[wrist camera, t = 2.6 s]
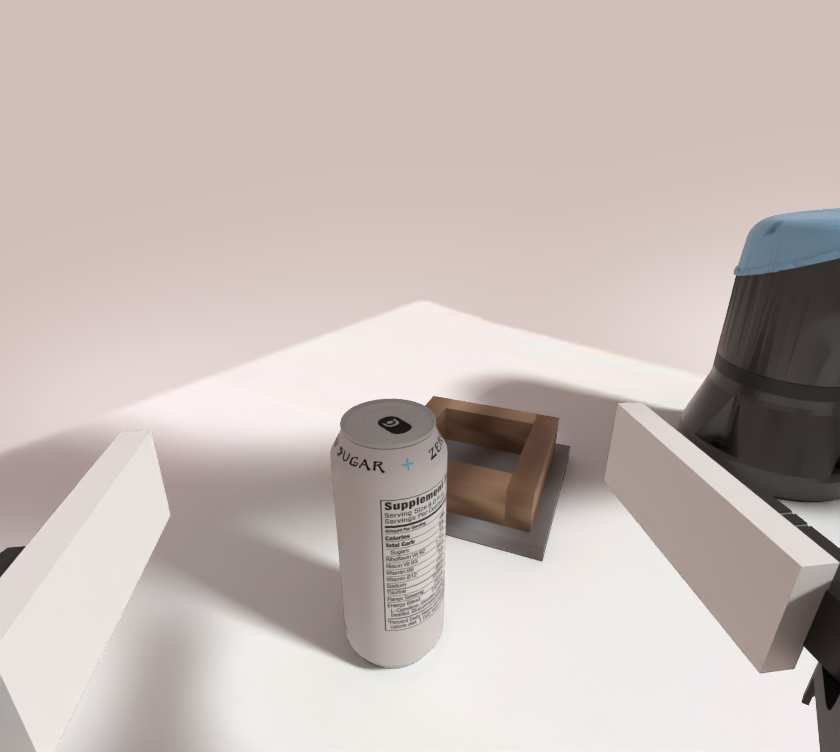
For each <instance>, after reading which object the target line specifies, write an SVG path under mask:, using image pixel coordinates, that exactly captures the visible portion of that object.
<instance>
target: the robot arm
mask: <svg viewBox="0 0 840 752" xmlns="http://www.w3.org/2000/svg"><path fill="white" fill-rule="evenodd" d="M734 274H735V275H736V278H735V282H734V286H733V290H732V294H731V298H730V302H729V306H728V310H727V314H726V318H725V321H724V325H723V329H722V333H721V336H720V340H719V344H718V348H717V353H716V356H715V360H714V364H713V368H712V370H711V372H710V374H709V375H708V376H707V378H706V379H705V381H704V382H703V383H702V385H701V386H700V388H699V389H698V391H697V392H696V394H695V395H694V396H693V398H692V399H691V401H690V402H689V404H688V405H687V407H686V408H685V410H684V411H683V413H682V415H681V417H680V421H679V425H678V429H677V430H676V429H674V428H673V427H672V426H671V425H670V424H668V423H667V422H666V421H665V420H663V419H662V418H661V417H660V416H658V415H657V414H656V413H655V412H654V411H652V410H651V409H650V408H649V407H647V406H646V405H645V404H644V403H642V402H632V403H618V405H617V410H616V416H615V421H614V427H613V433H612V438H611V444H610V449H609V455H608V461H607V466H606V472H605V477H604V482H605V483H606V484H607V485H608V487H609V488H610V489H611V490H612V492H613V493H614V494H615V495H616V496H617V498H618V499H619V500H620V501H621V503H622V504H623V505H624V506H625V508H626V509H627V510H628V511H629V513H630V514H631V515H632V516H633V517H634V519H635V520H636V521H637V522H638V524H639V525H640V526H641V527H642V529H643V530H644V531H645V532H646V534H647V535H648V536H649V537H650V538H651V540H652V541H653V542H654V543H655V545H656V546H657V547H658V548H659V550H660V551H661V552H662V553H663V554H664V556H665V557H666V558H667V559H668V561H669V562H670V563H671V564H672V566H673V567H674V568H675V569H676V571H677V572H678V573H679V574H680V575H681V577H682V578H683V579H684V580H685V582H686V583H687V584H688V585H689V587H690V588H691V589H692V590H693V591H694V593H695V594H696V595H697V596H698V598H699V599H700V600H701V601H702V603H703V604H704V605H705V606H706V608H707V609H708V610H709V611H710V612H711V614H712V615H713V616H714V617H715V619H716V620H717V621H718V622H719V624H720V625H721V626H722V627H723V629H724V630H725V631H726V632H727V633H728V635H729V636H730V637H731V638H732V640H733V641H734V642H735V643H736V645H737V646H738V647H739V648H740V649H741V651H742V652H743V653H744V654H745V656H746V657H747V658H748V659H749V661H750V662H751V663H752V664H753V666H754V667H755V668H756V669H757V670H758V672H759V673H767V672H774V671H781V670H789V669H794V668H795V666H796V664H797V661H798V659H799V657H800V654H801V652H802V650H803V647H805V648H806V649H807V650H808V651H809V652H810V653H811V654H812V655H813V656H814V657H815V658H816V659H817V661H818V664H817V666H816V668H815V670H814V673H813V675H812V677H811V679H810V681H809V684H808V686H807V688H806V690H805V692H804V695H803V699H802V703H804V704H806V705H809V703H810V701H811V699H812V697H814V696H815V698H816V709H817V720H818V732H819V743H820V752H840V548H838V547H837V546H836V545H835V544H833V543H832V542H831V541H829V540H828V539H827V538H826V537H824V536H823V535H822V534H820V533H819V532H818V531H817V530H815V529H814V528H813V527H812V526H809V527H808V525H807V523H806V522H805V521H804V520H803V519H801V518H800V517H799V516H798V515H796V514H792V511H791V510H790V509H789V508H787V507H786V506H785V505H783V504H782V503H781V502H780V501H778V500H777V499H776V498H775V497H780V498H786V499H792V500H802V501H827V500H834V499H838V498H840V208H837V209H823V210H813V211H802V212H794V213H786V214H780V215H775V216H771V217H768V218H766V219H764V220H762V221H760V222H758V223H757V224H756V225H755V226H754V227H753V228H752V229H751V230H750V232H749V234H748V236H747V239H746V242H745V245H744V248H743V252H742V255H741V258H740V261H739V264H738V266H736V268H735V270H734ZM773 496H775V497H773ZM170 515H171V514H170V510H169V505H168V501H167V497H166V492H165V488H164V484H163V479H162V475H161V471H160V466H159V462H158V458H157V453H156V449H155V445H154V440H153V436H152V432H151V430H148V431H131V432H120V433H119V434H118V436H117V437H116V438H115V439H114V440H113V442H112V443H111V444H110V445H109V446H108V448H107V449H106V450H105V451H104V452H103V454H102V455H101V456H100V457H99V459H98V460H97V461H96V462H95V463H94V465H93V466H92V467H91V468H90V469H89V471H88V472H87V473H86V474H85V476H84V477H83V478H82V479H81V480H80V482H79V483H78V484H77V485H76V486H75V488H74V489H73V490H72V491H71V492H70V494H69V495H68V496H67V497H66V499H65V500H64V501H63V502H62V503H61V505H60V506H59V507H58V508H57V509H56V511H55V512H54V513H53V514H52V515H51V517H50V518H49V519H48V520H47V522H46V523H45V524H44V525H43V526H42V528H41V529H40V530H39V531H38V532H37V534H36V535H35V536H34V537H33V539H32V540H31V541H30V542H29V543H28V545H27V546H23V547H11V548H7V549H5V550H4V551H3V552H1V553H0V752H55V750H56V748H57V746H58V744H59V742H60V740H61V738H62V736H63V734H64V732H65V730H66V728H67V726H68V723H69V721H70V719H71V717H72V715H73V713H74V711H75V709H76V707H77V705H78V703H79V701H80V699H81V697H82V695H83V693H84V691H85V689H86V687H87V685H88V683H89V681H90V679H91V677H92V674H93V672H94V670H95V668H96V666H97V664H98V662H99V660H100V658H101V656H102V654H103V652H104V650H105V648H106V646H107V644H108V642H109V640H110V638H111V636H112V634H113V632H114V630H115V628H116V626H117V623H118V621H119V619H120V617H121V615H122V613H123V611H124V609H125V607H126V605H127V603H128V601H129V599H130V597H131V595H132V593H133V591H134V589H135V587H136V585H137V583H138V581H139V579H140V577H141V575H142V572H143V570H144V568H145V566H146V564H147V562H148V560H149V558H150V556H151V554H152V552H153V550H154V548H155V546H156V544H157V542H158V540H159V538H160V536H161V534H162V532H163V530H164V528H165V526H166V524H167V521H168V519H169V517H170Z"/></svg>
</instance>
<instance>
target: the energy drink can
mask: <svg viewBox="0 0 840 752" xmlns="http://www.w3.org/2000/svg"><path fill="white" fill-rule="evenodd" d="M340 427H341V431H340V433H339V434H338V436H337V438H336V440H335V442H334V443H333V445H332V448H331V453H330V454H331V466H332V478H333V490H334V502H335V514H336V526H337V537H338V549H339V561H340V573H341V585H342V597H343V609H344V620H345V631H346V636H347V639H348V641H349V643H350V645H351V646H352V648H353V649H354V650H355V651H356V652H357V653H358V654H359V655H360V656H361V657H363V658H365V659H366V660H368V661H369V662H371V663H372V664H374V665H377V666H380V667H383V668H402V667H406V666H409V665H411V664H414V663H415V662H417V661H418V660H420V659H421V658H422V657H423V656H425V655H426V654H427V653H428V652H430V651H431V650H432V649H433V648H434V646H435V645H436V643H437V642H438V640H439V638H440V636H441V633H442V629H443V615H444V574H445V533H446V492H447V445H446V443H445V441H444V439H443V437H442V436H441V434H440V432H439V431H438V429H437V428H436V417H435V415H434V413H433V412H432V411H431V410H430V409H429V408H427V407H425V406H424V405H421V404H419V403H416V402H413V401H409V400H403V399H380V400H373V401H368V402H365V403H362V404H359V405H357V406H354V407H353V408H351V409H349V410H348V411H347V412H346V413H345V414H344V415H343V417H342V418H341V422H340Z"/></svg>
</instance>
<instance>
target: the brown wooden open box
mask: <svg viewBox="0 0 840 752" xmlns="http://www.w3.org/2000/svg"><path fill="white" fill-rule="evenodd" d="M425 407H427V408H429V409H430V410H431V411H432V412H433V413H434V415H435V417H436V428H437V429H438V431H439V432H440V434H441V436H442V437H443V439H444V441H445V443H446V445H447V492H446V533H445V534H446V535H449V536H453V537H457V538H460V539H464V540H468V541H471V542H475V543H479V544H482V545H486V546H489V547H493V548H497V549H500V550H504V551H508V552H511V553H515V554H519V555H522V556H526V557H530V558H533V559H537V560H540V561H542V560H543V556H544V552H545V548H546V544H547V540H548V536H549V532H550V528H551V524H552V520H553V516H554V512H555V508H556V504H557V500H558V496H559V492H560V489H561V485H562V481H563V477H564V473H565V469H566V465H567V461H568V456H569V449H570V446H565V445H560V444H556V437H557V429H558V421H559V418H556V417H550V416H544V415H539V414H533V413H527V412H521V411H516V410H510V409H504V408H499V407H493V406H487V405H482V404H476V403H470V402H464V401H459V400H453V399H447V398H442V397H436V396H433V397H432V399H431V400H430V401H429V402H428V403H427V404H426V405H425Z"/></svg>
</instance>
